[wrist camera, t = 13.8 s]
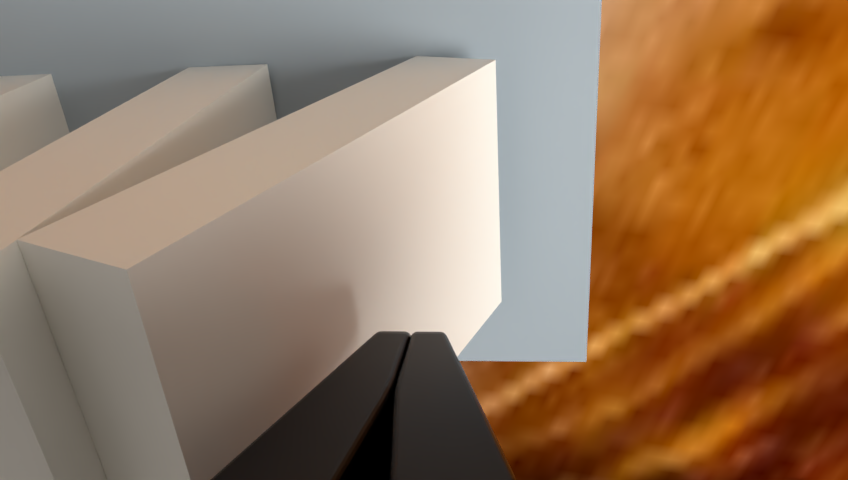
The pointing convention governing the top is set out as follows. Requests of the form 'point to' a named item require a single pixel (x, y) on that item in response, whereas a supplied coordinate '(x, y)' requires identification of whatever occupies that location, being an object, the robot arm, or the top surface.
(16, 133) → the domino
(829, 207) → the top surface
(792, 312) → the top surface
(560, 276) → the domino board
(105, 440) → the domino
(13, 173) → the domino
